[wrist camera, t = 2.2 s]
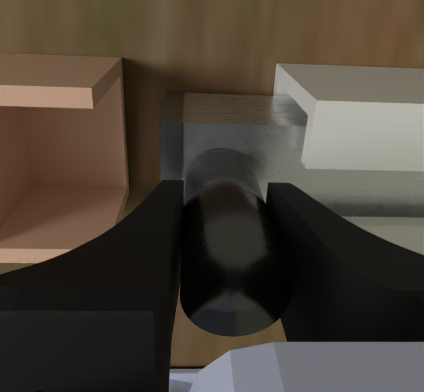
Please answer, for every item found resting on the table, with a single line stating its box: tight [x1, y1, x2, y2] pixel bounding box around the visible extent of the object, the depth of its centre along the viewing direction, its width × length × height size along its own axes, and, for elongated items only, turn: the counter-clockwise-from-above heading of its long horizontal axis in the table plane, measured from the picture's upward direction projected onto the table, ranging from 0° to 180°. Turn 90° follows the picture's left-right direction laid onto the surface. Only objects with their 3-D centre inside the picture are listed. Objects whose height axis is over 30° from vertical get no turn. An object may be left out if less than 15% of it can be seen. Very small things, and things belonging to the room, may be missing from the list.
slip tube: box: [160, 91, 424, 336], centre depth 13 cm, size 4×12×10 cm, turn 88°
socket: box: [0, 53, 129, 263], centre depth 15 cm, size 6×5×6 cm
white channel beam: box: [273, 63, 424, 255], centre depth 16 cm, size 6×10×6 cm, turn 88°
